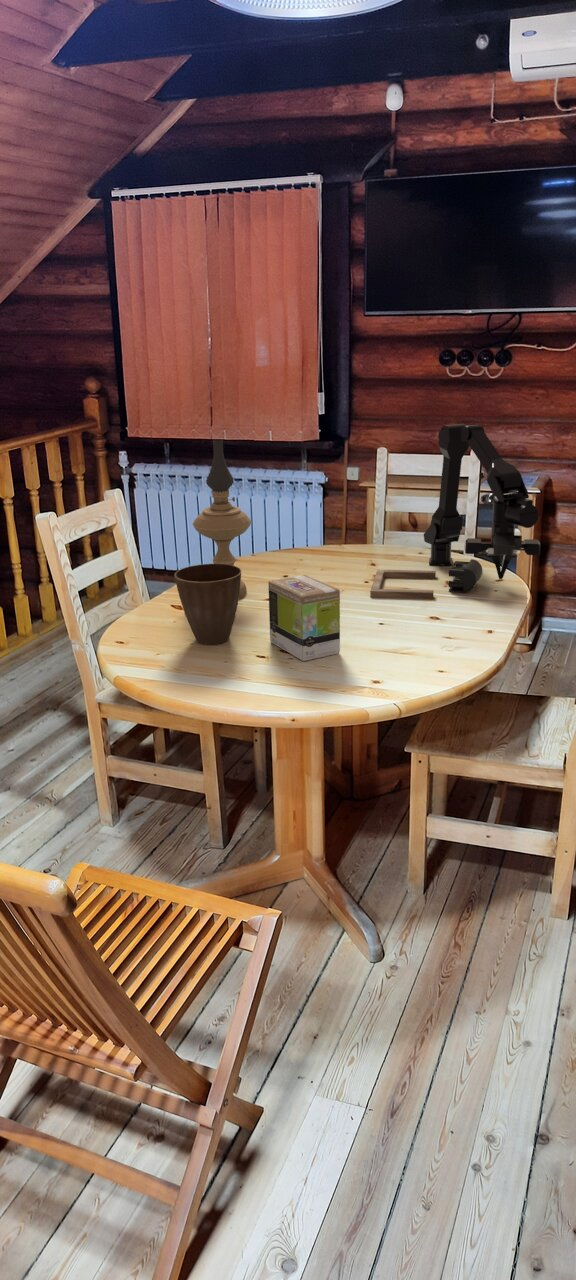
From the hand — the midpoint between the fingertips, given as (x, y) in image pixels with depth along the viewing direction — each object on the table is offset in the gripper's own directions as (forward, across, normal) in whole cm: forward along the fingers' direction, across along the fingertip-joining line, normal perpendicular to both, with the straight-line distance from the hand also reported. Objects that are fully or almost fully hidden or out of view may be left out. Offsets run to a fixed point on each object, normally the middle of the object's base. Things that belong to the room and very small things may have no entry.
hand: (500, 578), depth 245 cm
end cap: (+3, -9, 0) cm, 10 cm away
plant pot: (+3, -66, -45) cm, 80 cm away
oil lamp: (+3, -71, -11) cm, 72 cm away
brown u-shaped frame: (+3, -24, 0) cm, 24 cm away
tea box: (+3, -44, -48) cm, 65 cm away
